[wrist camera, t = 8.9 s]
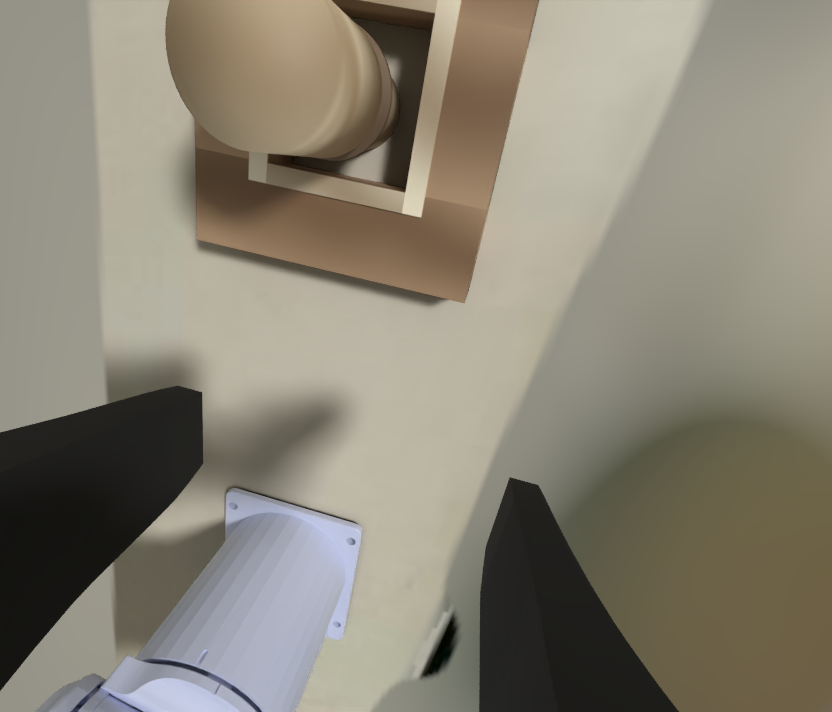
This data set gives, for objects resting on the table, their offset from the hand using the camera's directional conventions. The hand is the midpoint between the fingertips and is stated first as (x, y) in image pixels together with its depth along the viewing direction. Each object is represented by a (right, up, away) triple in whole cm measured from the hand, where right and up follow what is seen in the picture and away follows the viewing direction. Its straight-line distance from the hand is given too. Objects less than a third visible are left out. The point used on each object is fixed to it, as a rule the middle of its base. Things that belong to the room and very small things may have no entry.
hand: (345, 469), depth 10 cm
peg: (-1, +12, +7) cm, 14 cm away
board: (0, +12, +7) cm, 14 cm away
